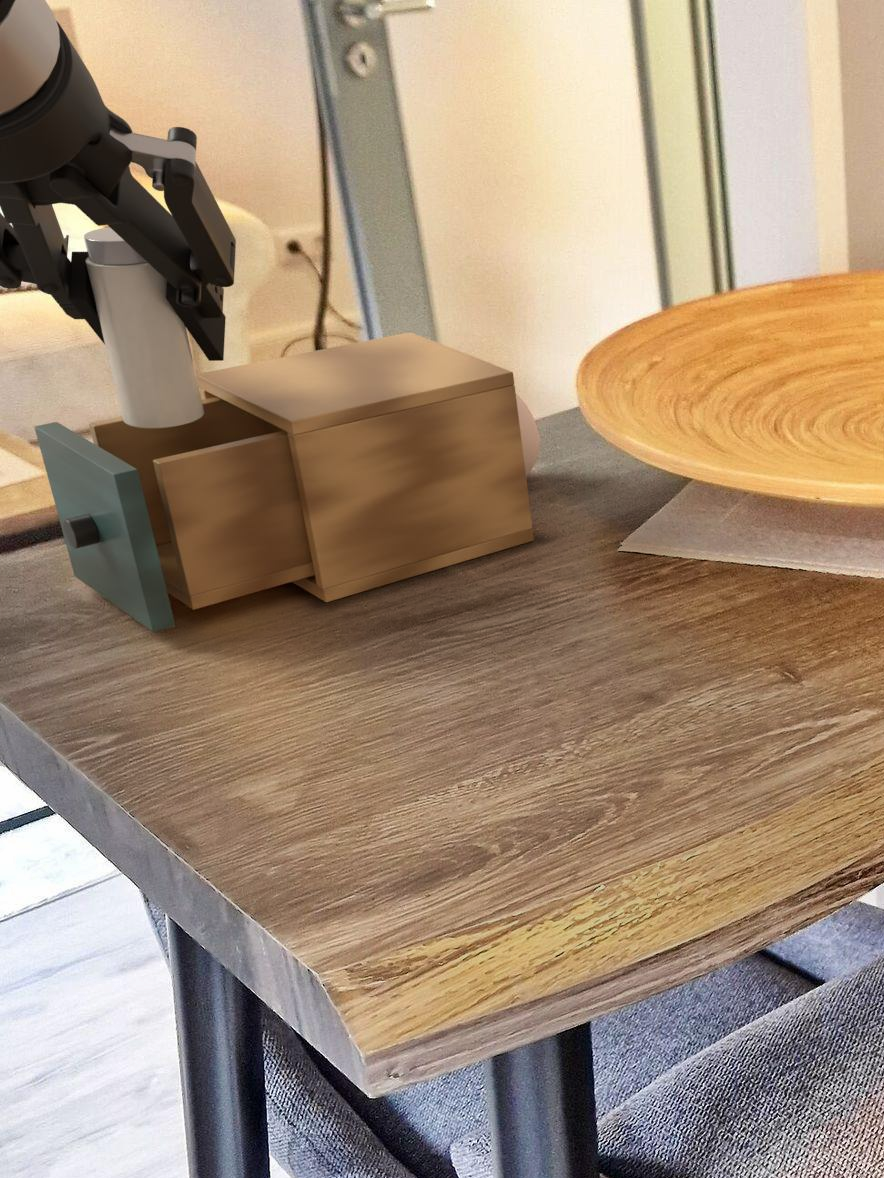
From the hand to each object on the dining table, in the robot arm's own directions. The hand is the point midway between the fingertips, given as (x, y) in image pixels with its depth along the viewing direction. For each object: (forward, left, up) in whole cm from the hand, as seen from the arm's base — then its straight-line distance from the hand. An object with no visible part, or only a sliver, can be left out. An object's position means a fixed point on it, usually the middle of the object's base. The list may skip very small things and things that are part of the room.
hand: (171, 338), depth 94 cm
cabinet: (+3, +9, -14) cm, 16 cm away
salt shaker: (+3, -2, -3) cm, 5 cm away
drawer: (+3, -2, -13) cm, 13 cm away
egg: (-1, +20, -14) cm, 24 cm away
